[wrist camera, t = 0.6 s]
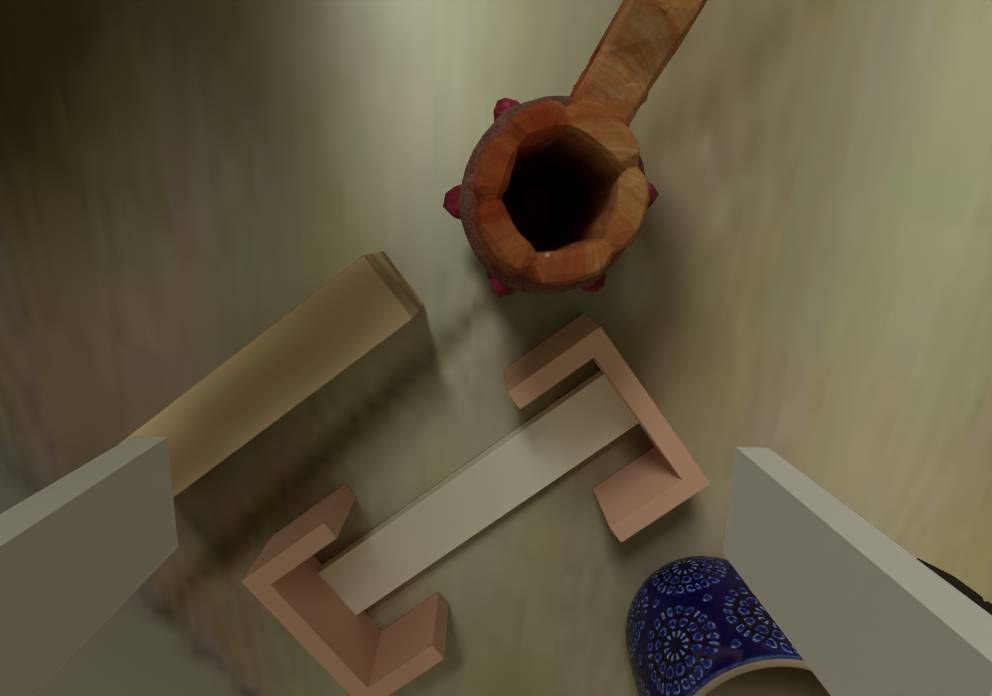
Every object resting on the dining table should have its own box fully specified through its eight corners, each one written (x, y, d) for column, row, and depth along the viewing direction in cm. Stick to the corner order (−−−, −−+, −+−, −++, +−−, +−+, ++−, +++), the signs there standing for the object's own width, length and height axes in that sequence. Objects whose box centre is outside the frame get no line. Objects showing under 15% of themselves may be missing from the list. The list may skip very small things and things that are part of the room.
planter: (676, 696, 40) (749, 868, 29) (580, 602, 39) (620, 748, 28) (795, 605, 39) (917, 750, 28) (701, 504, 37) (792, 617, 26)
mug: (547, 308, 34) (597, 366, 19) (431, 243, 33) (393, 252, 18) (675, 90, 32) (843, -34, 17) (554, 12, 31) (623, -191, 16)
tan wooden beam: (142, 437, 35) (74, 478, 30) (383, 251, 33) (363, 255, 28) (185, 482, 36) (127, 531, 30) (424, 303, 34) (412, 318, 28)
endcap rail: (272, 535, 37) (241, 581, 32) (583, 313, 34) (600, 326, 29) (379, 651, 39) (364, 711, 34) (679, 449, 36) (710, 483, 31)
